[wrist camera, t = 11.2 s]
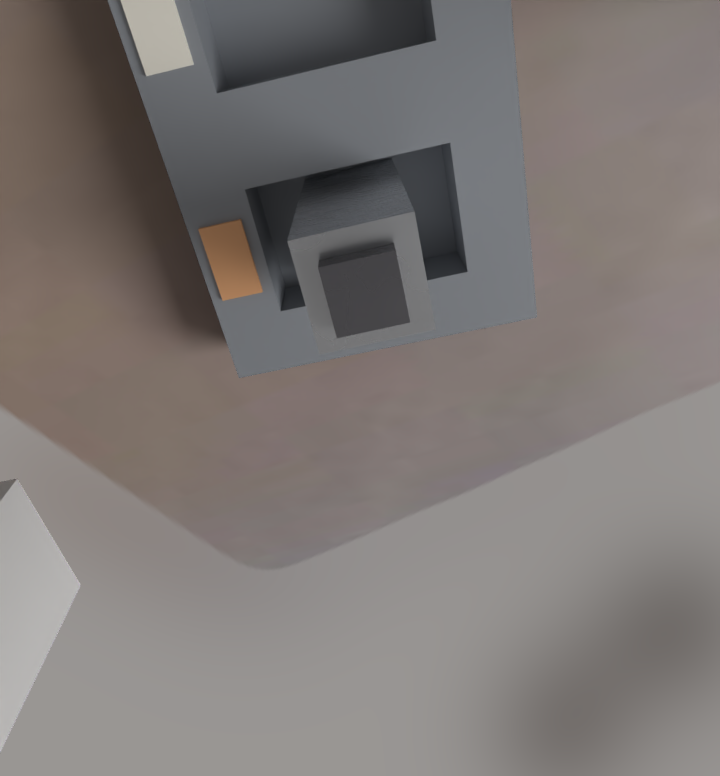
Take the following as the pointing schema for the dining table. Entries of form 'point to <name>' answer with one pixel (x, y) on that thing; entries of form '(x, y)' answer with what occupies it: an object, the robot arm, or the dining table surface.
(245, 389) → the dining table surface
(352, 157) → the socket board
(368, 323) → the plug
